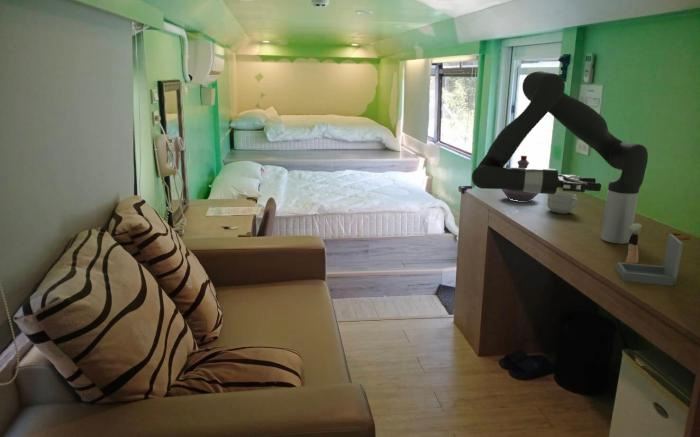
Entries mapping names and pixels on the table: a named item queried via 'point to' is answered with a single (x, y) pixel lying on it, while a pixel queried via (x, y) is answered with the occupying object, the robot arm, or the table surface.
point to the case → (655, 267)
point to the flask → (520, 194)
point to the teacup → (562, 202)
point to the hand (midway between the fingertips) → (597, 184)
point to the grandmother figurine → (633, 243)
